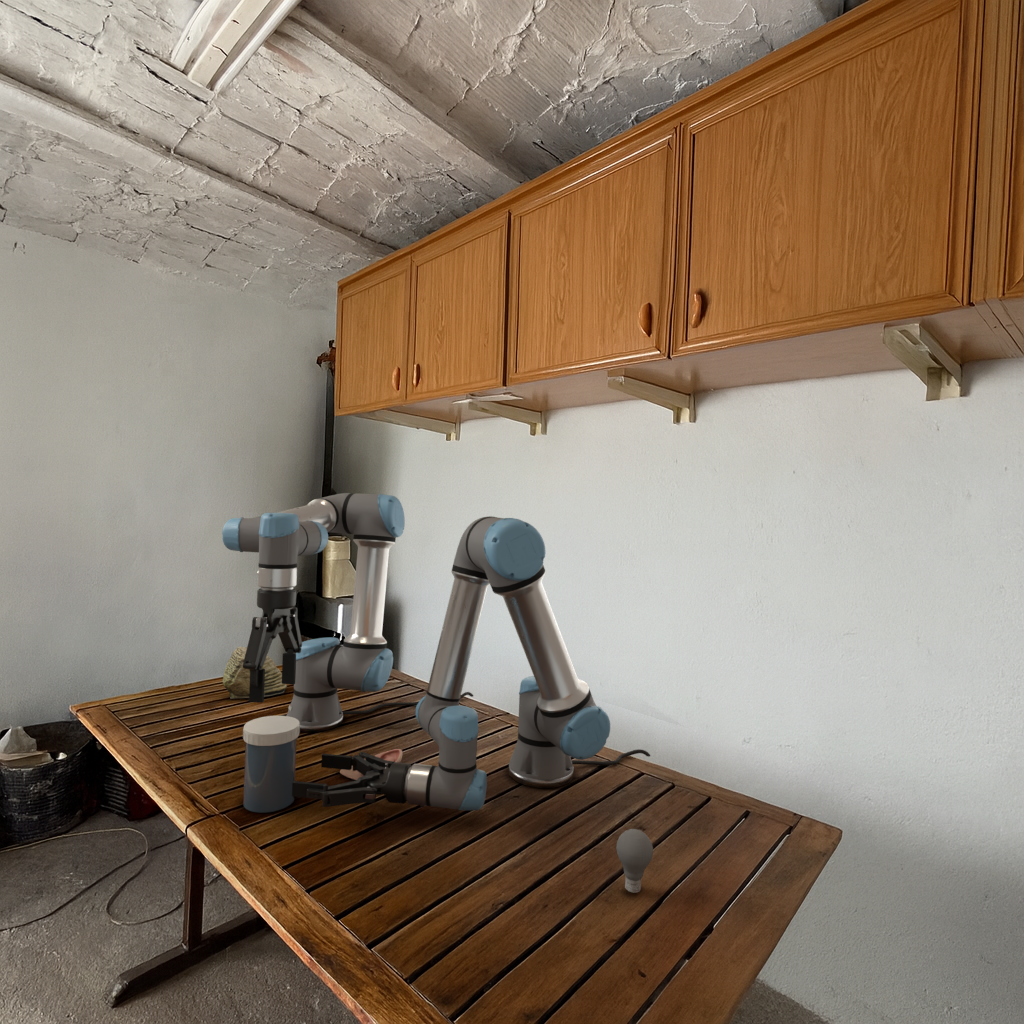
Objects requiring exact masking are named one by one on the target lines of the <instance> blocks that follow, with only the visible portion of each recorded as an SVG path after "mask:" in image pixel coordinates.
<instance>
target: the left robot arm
mask: <svg viewBox="0 0 1024 1024" xmlns="http://www.w3.org/2000/svg"><path fill="white" fill-rule="evenodd" d="M404 511H405V510H404V508H403V504H402V502H401V500H400V499H399V498H398V497H397V496H395V495H390V494H384V493H356V492H342V493H337V494H332V495H328V496H324V497H320V498H315V499H313V500H311V501H309V502H308V503H307V504H306V505H302V506H298V507H293V508H290V509H284V510H281V511H276V512H264V513H263V514H262V515H259V516H255V517H244V516H243V517H232V518H230V519H228V520H227V521H226V522H225V523H224V525H223V527H222V532H221V534H222V537H221V539H222V543H223V546H225V548H226V549H227V550H230V551H233V552H234V551H235V552H240V553H243V552H244V553H258V565H257V566H258V570H257V572H256V573H257V586H258V587H259V588H258V589H257V591H256V606H257V607H258V608H259V609H262V614H261V616H260V617H259V616H254V617H252V619H251V620H252V621H251V631H250V635H249V639H248V643H247V646H246V647H247V650H246V654H245V658H244V662H243V668H245V669H249V670H250V688H249V698H248V702H249V703H260V704H262V703H264V702H265V697H264V684H265V669H262V667H263V665H264V662H265V659H266V657H267V655H268V654H269V651H270V648H271V645H272V643H273V640H274V639H276V638H277V637H279V639H280V642H281V644H282V647H283V649H284V651H285V652H283V653H282V663H281V664H282V665H281V673H282V684H286V685H293V695H292V696H293V697H292V699H291V702H290V704H289V705H288V708H287V709H288V711H287V713H286V715H285V716H289V717H293V718H296V719H297V720H299V723H300V733H316V732H325V731H329V730H332V729H335V728H337V727H339V726H340V725H342V723H343V722H344V716H347V715H364V714H365V715H366V714H369V713H372V712H374V711H376V710H379V709H381V708H385V707H394V706H401V707H402V706H403V707H404V706H417V704H418V703H419V701H410V702H409V701H408V702H401V701H400V702H385V703H381V704H377V705H375V706H373V707H371V708H369V709H365V710H347V711H345V710H344V711H343V709H342V706H341V702H340V699H339V695H338V689H339V690H340V689H341V690H351V691H359V692H362V693H366V692H367V693H369V692H370V693H371V692H372V693H377V692H379V691H381V690H382V689H383V688H384V687H385V685H386V684H387V682H388V681H389V678H390V676H391V673H392V669H393V665H394V654H393V651H392V650H391V649H389V648H387V647H388V641H387V639H385V637H384V636H383V627H384V625H383V624H384V616H385V615H384V614H385V604H386V603H385V602H386V593H387V592H386V591H387V582H388V569H389V557H390V556H389V555H390V550H391V548H392V547H393V546H394V545H396V539H397V538H400V537H401V536H402V535H403V533H404V530H405V525H406V523H405V521H406V520H405V512H404ZM328 533H332V534H333V533H335V534H344V535H353V538H352V540H353V543H354V544H355V545H356V546H357V555H356V564H355V566H356V567H355V576H354V578H355V579H354V587H353V598H352V599H353V600H352V609H351V610H352V611H351V621H350V631H349V632H350V633H349V634H348V636H346V637H345V638H344V639H343V644H340V643H341V641H340V639H339V638H338V637H334V636H333V637H318V638H313V639H307V640H304V641H302V636H301V630H300V629H301V628H300V624H299V619H298V618H299V617H298V607H296V603H297V590H296V588H295V587H296V586H297V585H298V584H297V583H298V581H297V580H298V557H303V556H313V555H315V554H318V553H321V552H322V551H323V550H324V549H326V547H327V545H328V542H329V534H328ZM465 696H469V697H474V694H473V693H472V692H471V691H465V692H462V693H461V696H460V700H461V699H463V698H464V697H465Z"/></svg>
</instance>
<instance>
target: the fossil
mask: <svg viewBox="0 0 1024 1024" xmlns="http://www.w3.org/2000/svg"><path fill="white" fill-rule="evenodd" d="M246 650H247V646H246V647H245V646H238V647H237V648H236V649H235V650H233V651H232V653H231V656H230V657H229V659H228V660H227V663H226V666H225V668H224V671H223V675H222V676H223V677H222V685H223V687H224V688H225V690H226V691H228V693H229V698H230V699H249V688H250V670H249V669H245V668H243V662H244V658H245V654H246ZM262 669H265V684H264V698H265V697H271V696H275V695H281V694H284V693H285V691H286V689H287V687H288V686H287V685H288V684H282V671H281V669H279V668H278V667H277V665H276V663H275V662H274V660H273V659H272V658H271V657H270V656H269V655H268V654H267V657H266V659H265V662H264V665H263V667H262Z"/></svg>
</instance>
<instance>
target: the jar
mask: <svg viewBox="0 0 1024 1024" xmlns="http://www.w3.org/2000/svg"><path fill="white" fill-rule="evenodd" d="M297 739H298V737H297V738H296V739H294V740H292V741H290V742H287V743H284V744H279V745H273V746H257V745H251V744H248V743H246V742H245V744H244V745H245V747H244V748H245V749H244V770H243V771H244V773H243V774H244V776H243V801H242V803H243V808H244V809H245V810H247V811H249V812H252V813H261V814H264V813H273V812H277V811H281V810H283V809H286V808H287V807H289V806H290V805H292V804H293V803H294V801H295V797H293V796H292V783H293V782H294V781H296V769H297V768H296V765H297V764H296V763H297Z"/></svg>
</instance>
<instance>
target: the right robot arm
mask: <svg viewBox="0 0 1024 1024" xmlns="http://www.w3.org/2000/svg"><path fill="white" fill-rule="evenodd" d="M459 539H460V540H459V542H458V545H457V548H456V553H455V555H454V559H453V565H452V568H451V572H450V573H451V574H452V575H453V578H454V580H453V582H452V587H451V591H450V595H449V599H448V603H447V607H446V611H445V616H444V620H443V624H442V628H441V632H440V636H439V640H438V644H437V648H436V653H435V657H434V660H433V663H432V664H433V665H432V669H431V673H430V678H429V681H428V685H427V689H426V693H425V695H424V696H422V697H421V698H420V700H419V701H418V702H419V703H418V704H417V705H415V706H416V707H415V718H416V720H417V722H418V724H419V726H420V728H421V729H422V730H423V731H424V732H425V733H427V734H428V736H430V738H431V739H432V740H433V741H434V742H435V744H436V745H437V746H438V765H433V764H423V763H414V764H411V763H408V762H400V763H399V762H394V761H387V760H384V759H381V758H378V757H376V756H375V755H373V754H369V753H367V752H364V751H360V752H358V754H355V755H353V756H352V755H343V754H333V753H332V754H331V753H330V754H329V753H322V754H321V762H320V763H321V764H320V767H321V768H324V769H333V770H334V769H336V770H341V769H344V770H351V769H352V766H353V770H354V771H356V770H357V771H358V772H360V773H361V774H363V775H364V776H363V777H359V778H358V779H357V780H352V781H346V782H343V783H338V784H333V785H328V784H327V783H326V782H324V783H320V782H319V783H318V782H310V781H301V780H299V781H298V780H295V781H294V782H293V783H292V796H293V797H294V798H302V799H311V800H312V799H313V800H321V801H322V805H321V806H322V807H323V808H330V807H339V806H346V805H355V804H375V803H376V801H377V796H380V795H384V797H385V799H386V802H387V803H391V804H400V805H405V804H406V803H407V804H408V805H414V806H420V808H424V807H433V808H442V809H450V810H457V811H460V812H461V811H468V812H469V811H480V810H481V809H482V808H483V807H484V805H485V801H486V800H485V799H486V797H487V788H488V780H487V779H488V776H487V775H488V774H487V772H486V771H485V770H484V769H483V770H482V769H479V768H478V766H477V755H478V752H477V751H478V739H479V738H478V735H479V716H478V712H477V711H476V709H474V708H473V707H469V706H467V705H460V701H461V699H460V696H461V695H462V693H463V692H462V691H463V687H464V684H465V680H466V676H467V671H468V668H469V664H470V659H471V655H472V651H473V648H474V644H475V639H476V635H477V631H478V627H479V623H480V619H481V615H482V612H483V611H482V610H483V608H484V607H483V606H484V602H485V599H486V596H487V591H488V587H489V586H490V587H491V590H492V592H493V593H494V594H496V595H498V596H500V597H502V598H503V600H504V604H505V606H506V609H507V611H508V614H509V616H510V618H511V621H512V624H513V626H514V629H515V632H516V634H517V637H518V640H519V642H520V644H521V647H522V649H523V652H524V655H525V657H526V659H527V663H528V665H529V668H530V669H531V672H532V675H530V676H526V677H524V678H523V679H522V680H521V681H520V686H519V692H518V696H519V698H518V720H517V721H518V726H517V741H516V744H515V746H514V749H513V752H512V754H511V757H510V759H509V762H508V775H509V777H510V778H511V779H512V780H513V781H515V782H516V783H519V784H521V785H523V786H528V787H531V788H539V789H551V788H552V789H553V788H558V787H562V786H565V785H567V784H569V783H571V782H572V780H573V778H574V765H583V766H584V765H585V766H604V767H605V766H614V765H617V764H619V763H620V762H621V761H622V760H623V759H625V758H627V757H630V756H633V755H637V754H643V755H644V756H645V757H648V758H649V757H651V754H650V752H648V751H647V750H644V749H633V750H630V751H627V752H625V753H621V754H620V755H618V757H617V758H616V759H614V760H609V761H603V760H601V761H600V760H587V759H591V758H593V757H594V756H596V755H597V754H599V752H600V751H601V750H602V749H603V748H604V747H605V745H606V743H607V739H608V738H609V737H610V733H611V720H610V718H609V717H610V716H609V715H608V714H607V712H606V711H605V710H604V708H602V707H600V705H599V706H598V705H596V703H595V700H594V697H593V695H592V692H591V690H590V687H589V684H588V683H587V682H586V681H584V680H582V679H579V677H578V675H577V673H576V669H575V667H574V665H573V661H572V659H571V657H570V653H569V651H568V648H567V645H566V643H565V640H564V638H563V635H562V633H561V630H560V628H559V625H558V622H557V619H556V617H555V614H554V611H553V608H552V606H551V603H550V601H549V597H548V595H547V592H546V590H545V587H544V584H543V581H544V580H543V579H544V578H545V575H546V574H547V573H546V569H545V566H544V560H545V557H546V545H545V541H544V538H543V536H542V535H541V532H540V531H539V530H538V529H537V528H535V526H533V525H532V524H531V523H529V522H526V521H523V520H521V519H519V518H514V517H505V518H504V517H497V516H492V515H490V516H482V517H479V518H477V519H476V520H474V521H472V522H471V523H470V524H469V525H468V526H467V527H466V529H465V530H464V531H463V533H462V535H461V537H460V538H459Z"/></svg>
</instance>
